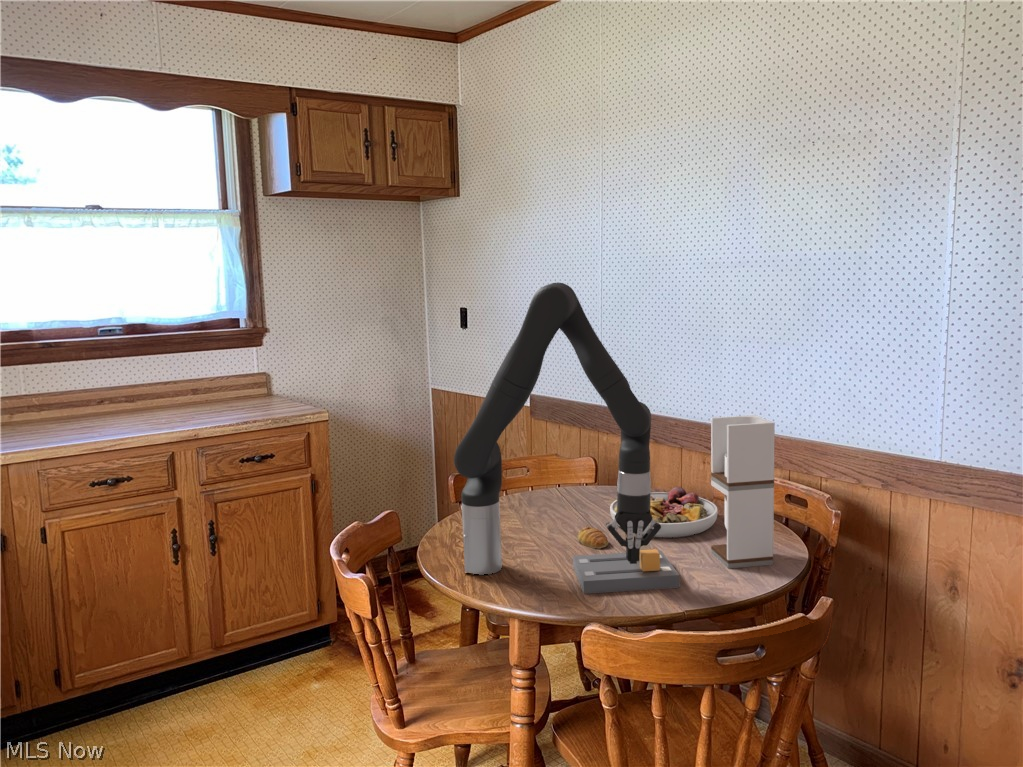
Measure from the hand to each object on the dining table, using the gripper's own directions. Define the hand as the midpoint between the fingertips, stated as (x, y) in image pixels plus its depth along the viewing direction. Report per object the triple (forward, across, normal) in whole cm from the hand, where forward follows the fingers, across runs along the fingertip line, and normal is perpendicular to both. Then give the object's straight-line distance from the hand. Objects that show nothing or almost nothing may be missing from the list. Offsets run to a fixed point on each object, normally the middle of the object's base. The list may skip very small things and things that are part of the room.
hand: (632, 562), depth 182 cm
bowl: (+5, +18, +42) cm, 46 cm away
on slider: (+2, +4, +8) cm, 9 cm away
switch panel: (+5, -1, +4) cm, 7 cm away
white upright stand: (+4, +30, +11) cm, 32 cm away
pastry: (+6, -4, +29) cm, 30 cm away
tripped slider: (+2, +4, 0) cm, 4 cm away
